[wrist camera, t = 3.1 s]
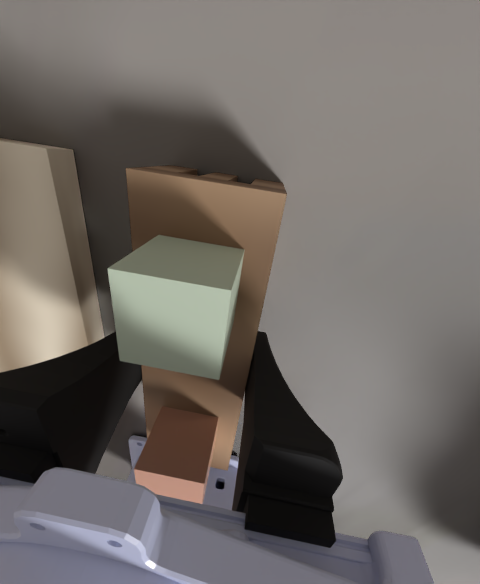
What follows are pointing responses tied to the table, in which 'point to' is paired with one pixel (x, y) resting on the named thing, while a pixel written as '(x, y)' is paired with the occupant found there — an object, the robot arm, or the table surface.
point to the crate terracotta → (178, 455)
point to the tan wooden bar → (252, 288)
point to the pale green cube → (176, 304)
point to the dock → (43, 257)
